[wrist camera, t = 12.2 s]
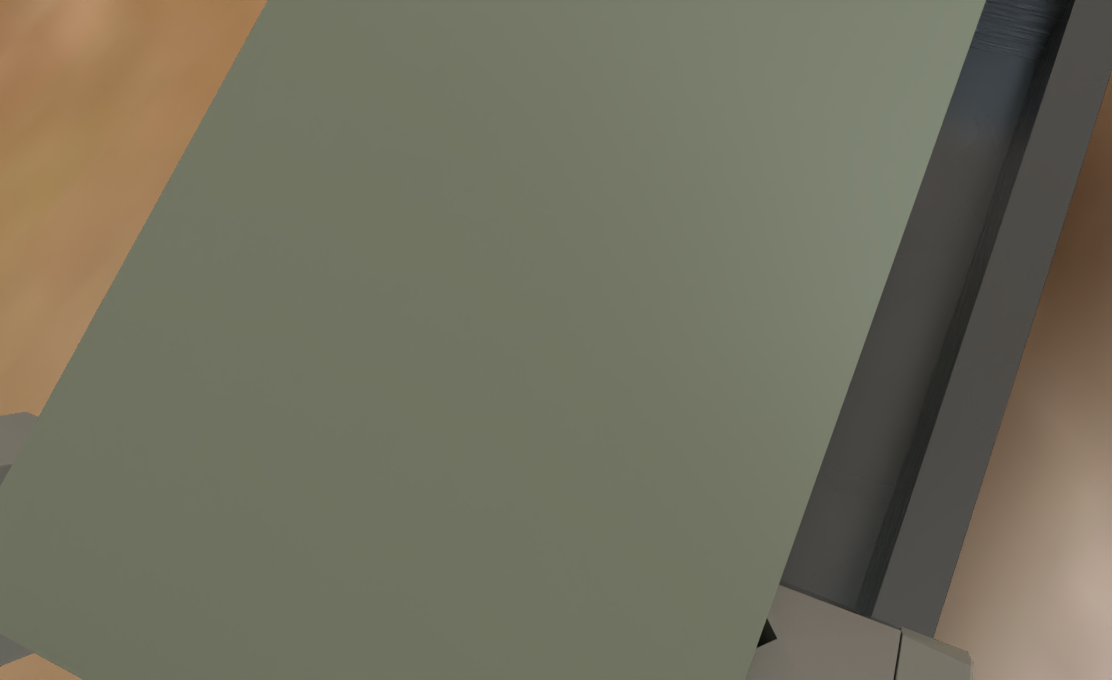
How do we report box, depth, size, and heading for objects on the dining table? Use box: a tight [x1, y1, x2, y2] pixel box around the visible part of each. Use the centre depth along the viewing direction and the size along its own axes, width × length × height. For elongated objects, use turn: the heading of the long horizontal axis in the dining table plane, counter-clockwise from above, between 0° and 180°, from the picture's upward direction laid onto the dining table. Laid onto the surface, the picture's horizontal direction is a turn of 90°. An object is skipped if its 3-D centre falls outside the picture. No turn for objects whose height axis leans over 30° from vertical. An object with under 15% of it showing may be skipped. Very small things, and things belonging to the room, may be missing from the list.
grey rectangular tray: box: [780, 0, 1112, 638], centre depth 16 cm, size 9×18×3 cm, turn 157°
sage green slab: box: [0, 0, 986, 680], centre depth 10 cm, size 4×10×10 cm, turn 157°
